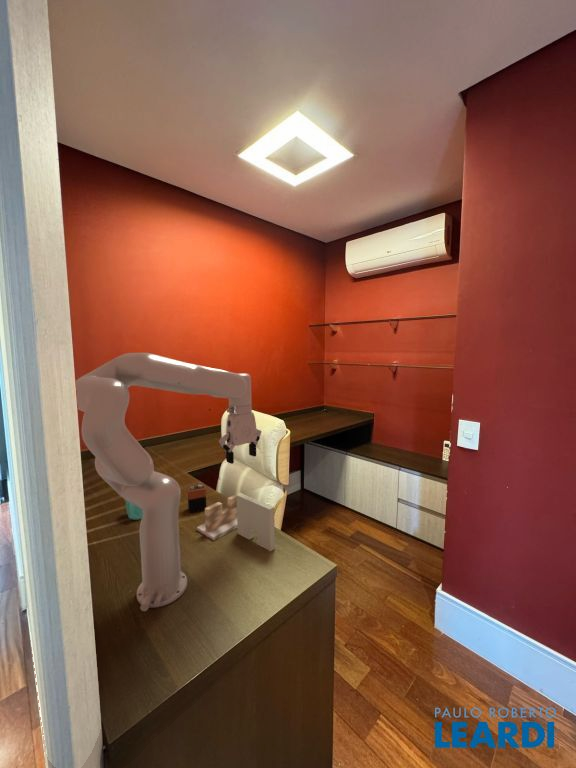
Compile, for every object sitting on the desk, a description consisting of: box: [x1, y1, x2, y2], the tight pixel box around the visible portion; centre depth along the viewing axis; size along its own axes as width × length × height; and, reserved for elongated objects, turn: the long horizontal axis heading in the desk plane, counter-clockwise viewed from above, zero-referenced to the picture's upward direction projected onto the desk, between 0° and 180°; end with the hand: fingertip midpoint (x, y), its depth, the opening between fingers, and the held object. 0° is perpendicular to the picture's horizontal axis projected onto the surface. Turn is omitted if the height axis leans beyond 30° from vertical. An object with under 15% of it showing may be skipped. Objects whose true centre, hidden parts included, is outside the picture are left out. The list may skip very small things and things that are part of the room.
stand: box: [196, 492, 241, 541], centre depth 115 cm, size 18×10×9 cm, turn 140°
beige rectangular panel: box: [237, 492, 276, 552], centre depth 104 cm, size 2×16×14 cm, turn 50°
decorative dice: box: [125, 500, 143, 521], centre depth 123 cm, size 8×8×8 cm
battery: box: [186, 483, 207, 514], centre depth 126 cm, size 4×7×10 cm, turn 113°
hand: (241, 459), depth 106 cm, fingers open, 9 cm apart
